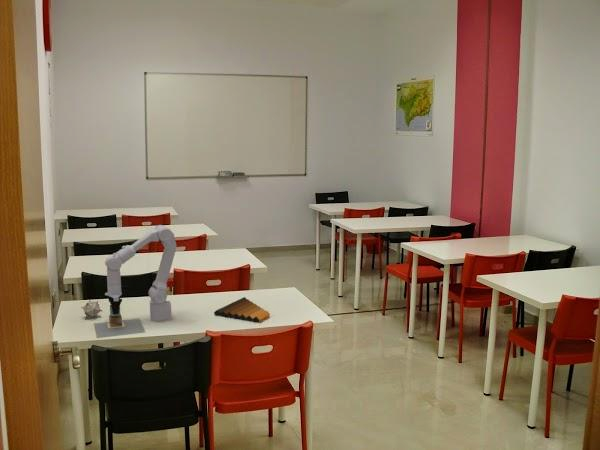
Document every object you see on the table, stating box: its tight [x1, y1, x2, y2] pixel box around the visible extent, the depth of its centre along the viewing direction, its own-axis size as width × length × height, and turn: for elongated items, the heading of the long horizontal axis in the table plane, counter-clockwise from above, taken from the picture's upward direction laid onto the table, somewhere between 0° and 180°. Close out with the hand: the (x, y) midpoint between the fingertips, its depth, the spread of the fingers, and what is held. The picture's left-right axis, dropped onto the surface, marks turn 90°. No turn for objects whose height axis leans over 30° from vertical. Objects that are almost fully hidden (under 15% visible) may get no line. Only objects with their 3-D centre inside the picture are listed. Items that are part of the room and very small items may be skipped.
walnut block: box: [108, 313, 123, 327], centre depth 268 cm, size 5×5×4 cm
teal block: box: [109, 304, 121, 316], centre depth 267 cm, size 4×4×4 cm
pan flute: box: [213, 296, 271, 324], centre depth 292 cm, size 25×3×25 cm
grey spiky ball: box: [81, 299, 103, 320], centre depth 281 cm, size 9×8×10 cm
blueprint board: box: [93, 318, 146, 339], centre depth 265 cm, size 20×20×1 cm
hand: (115, 312), depth 268 cm, fingers closed on teal block, 4 cm apart
